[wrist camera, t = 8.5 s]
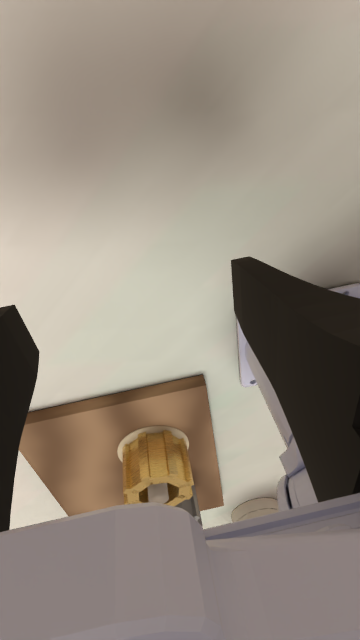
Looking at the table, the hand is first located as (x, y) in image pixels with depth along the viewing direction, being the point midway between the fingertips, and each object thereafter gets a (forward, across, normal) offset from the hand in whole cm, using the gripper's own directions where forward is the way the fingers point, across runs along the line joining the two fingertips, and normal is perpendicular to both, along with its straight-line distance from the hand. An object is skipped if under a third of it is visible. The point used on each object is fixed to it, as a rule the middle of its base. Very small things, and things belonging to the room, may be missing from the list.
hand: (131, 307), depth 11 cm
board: (+10, +5, +24) cm, 26 cm away
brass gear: (+9, +2, +21) cm, 23 cm away
